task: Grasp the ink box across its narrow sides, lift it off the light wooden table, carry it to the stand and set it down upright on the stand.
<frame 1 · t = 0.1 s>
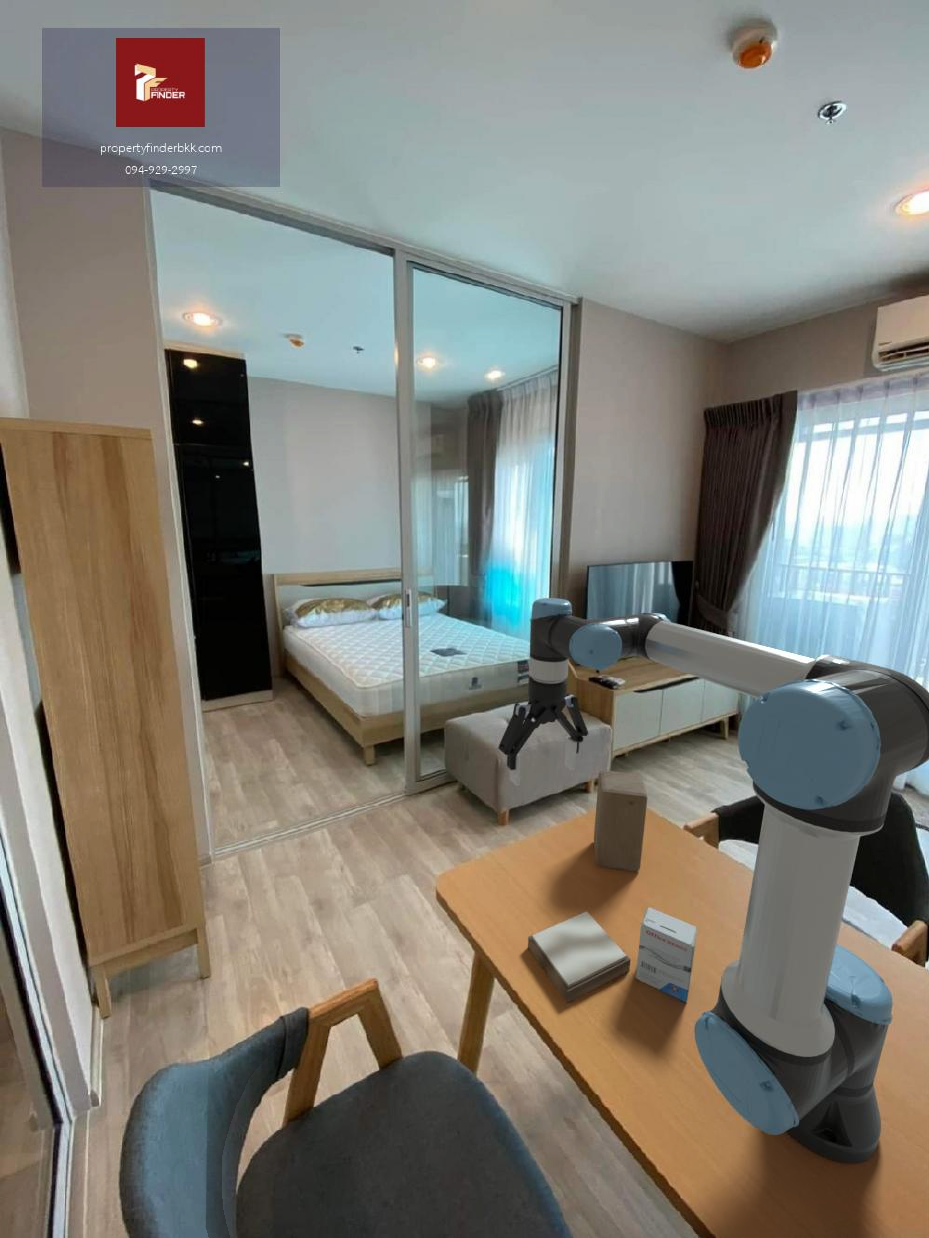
hand: (542, 775, 101), 28 cm above the table, fingers open, 13 cm apart
wooden block: (615, 857, 119), on the table
ink box: (662, 981, 88), on the table
stand: (577, 958, 92), on the table
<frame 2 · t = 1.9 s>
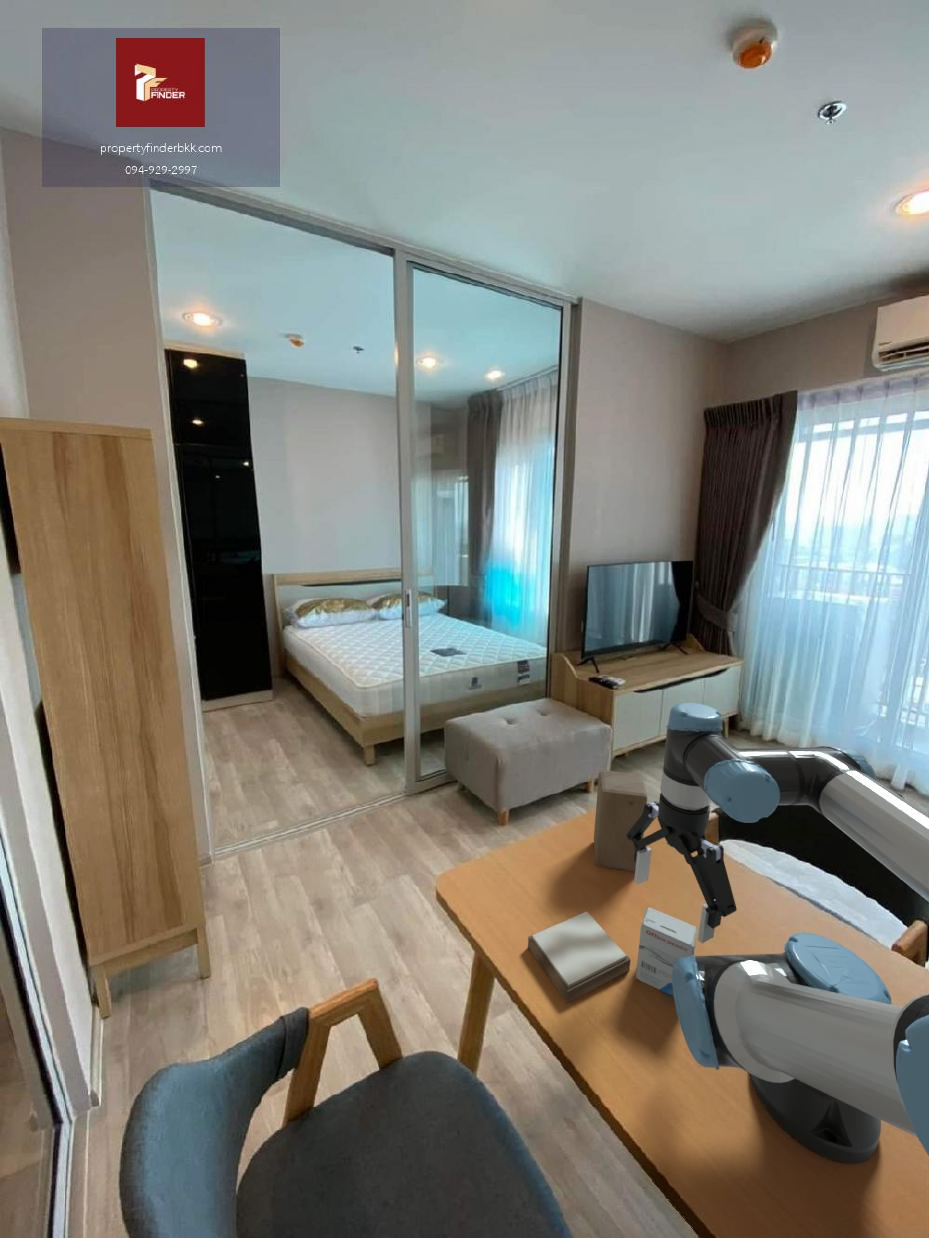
hand: (671, 908, 84), 15 cm above the table, fingers open, 13 cm apart
nothing on the table moved.
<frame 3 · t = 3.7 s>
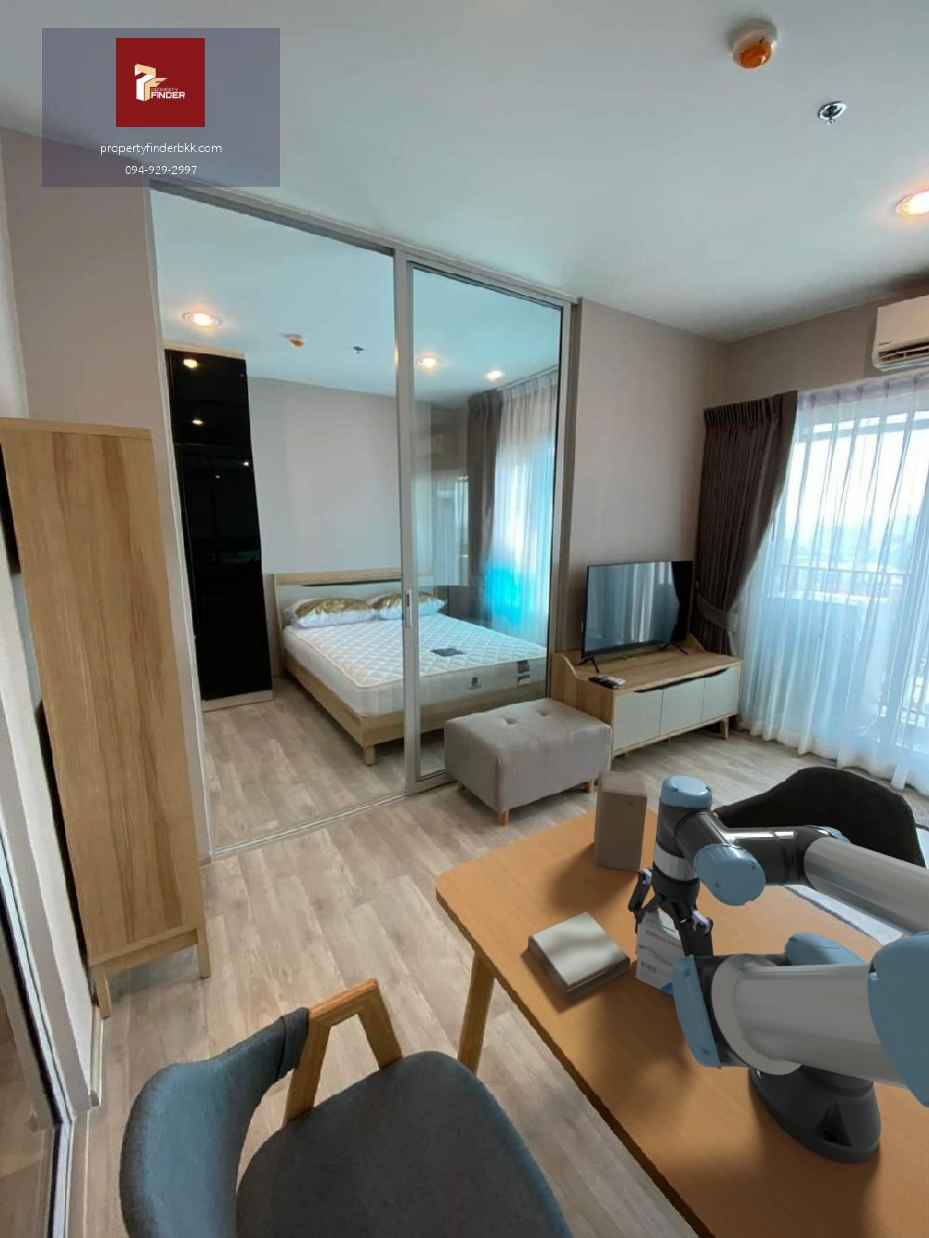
hand: (663, 974, 87), 1 cm above the table, fingers closed on ink box, 9 cm apart
ink box: (662, 980, 88), on the table, touching gripper
everything else where it was.
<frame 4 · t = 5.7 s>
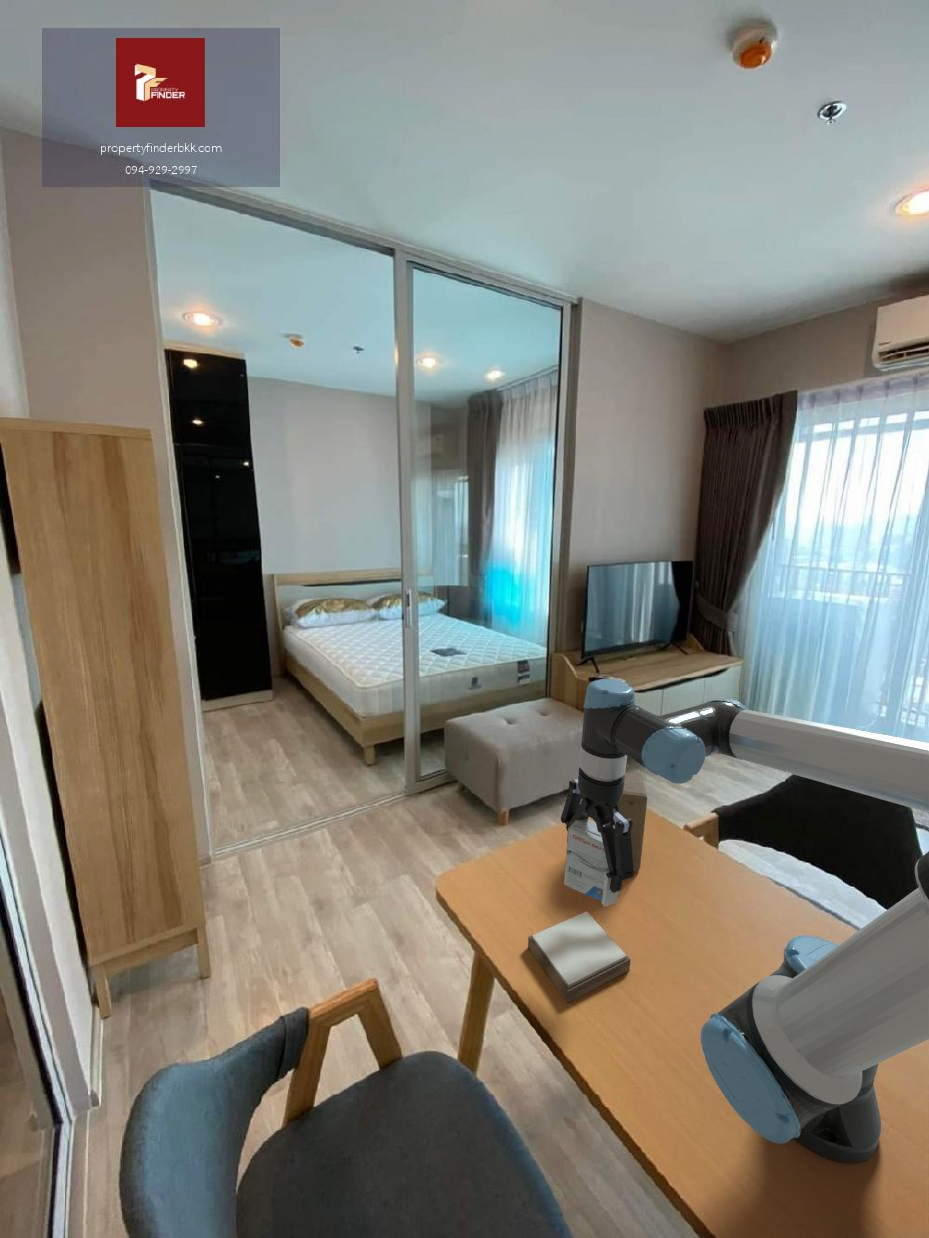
hand: (590, 881, 88), 16 cm above the table, fingers closed on ink box, 9 cm apart
ink box: (590, 887, 89), point 15 cm above the table, touching gripper
everything else where it was.
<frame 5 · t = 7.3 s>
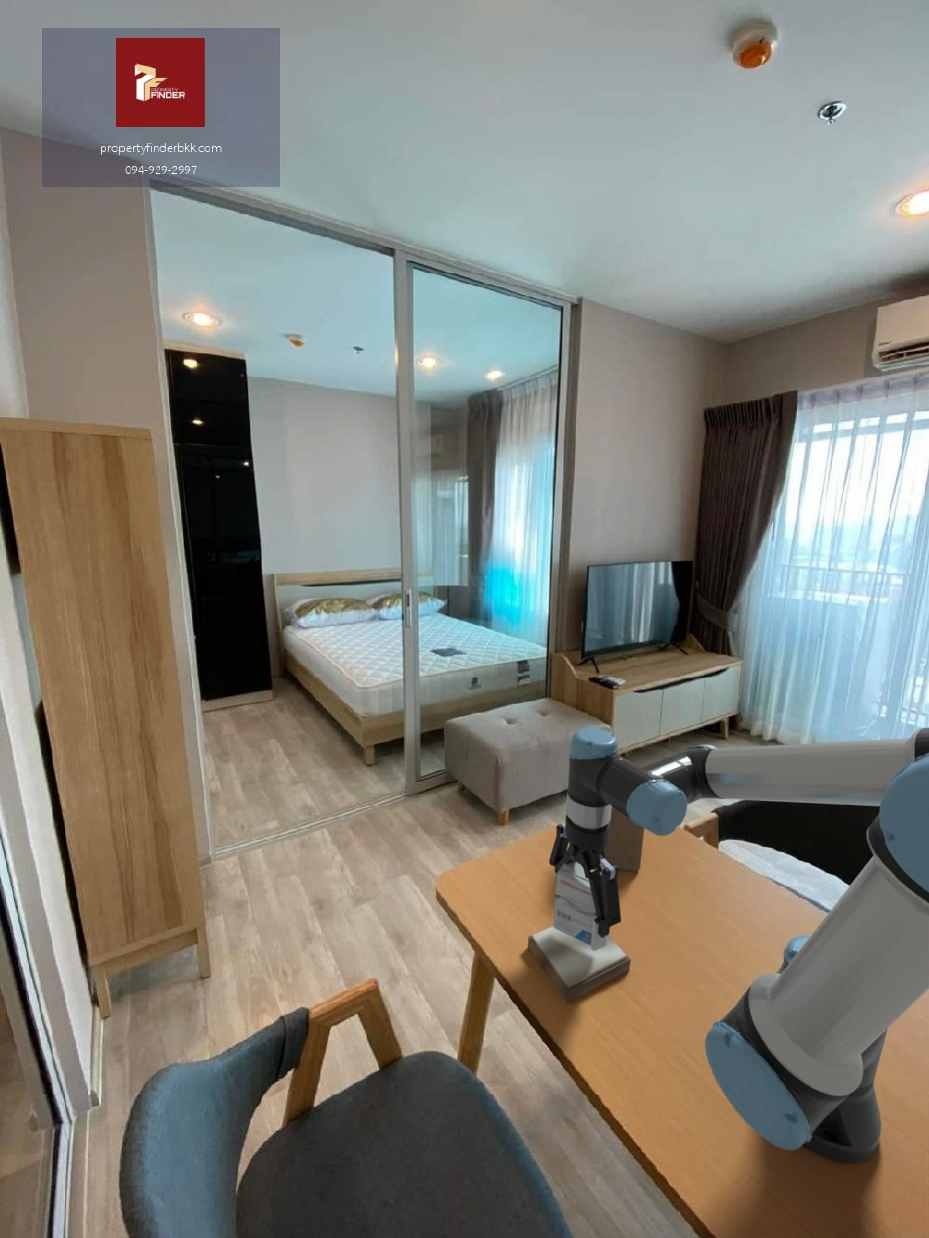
hand: (579, 924, 90), 7 cm above the table, fingers closed on ink box, 9 cm apart
ink box: (579, 930, 90), point 6 cm above the table, touching gripper
everything else where it was.
when the fingers open (6 cm above the table, at t = 8.2 s): ink box drops 1 cm, resting on stand.
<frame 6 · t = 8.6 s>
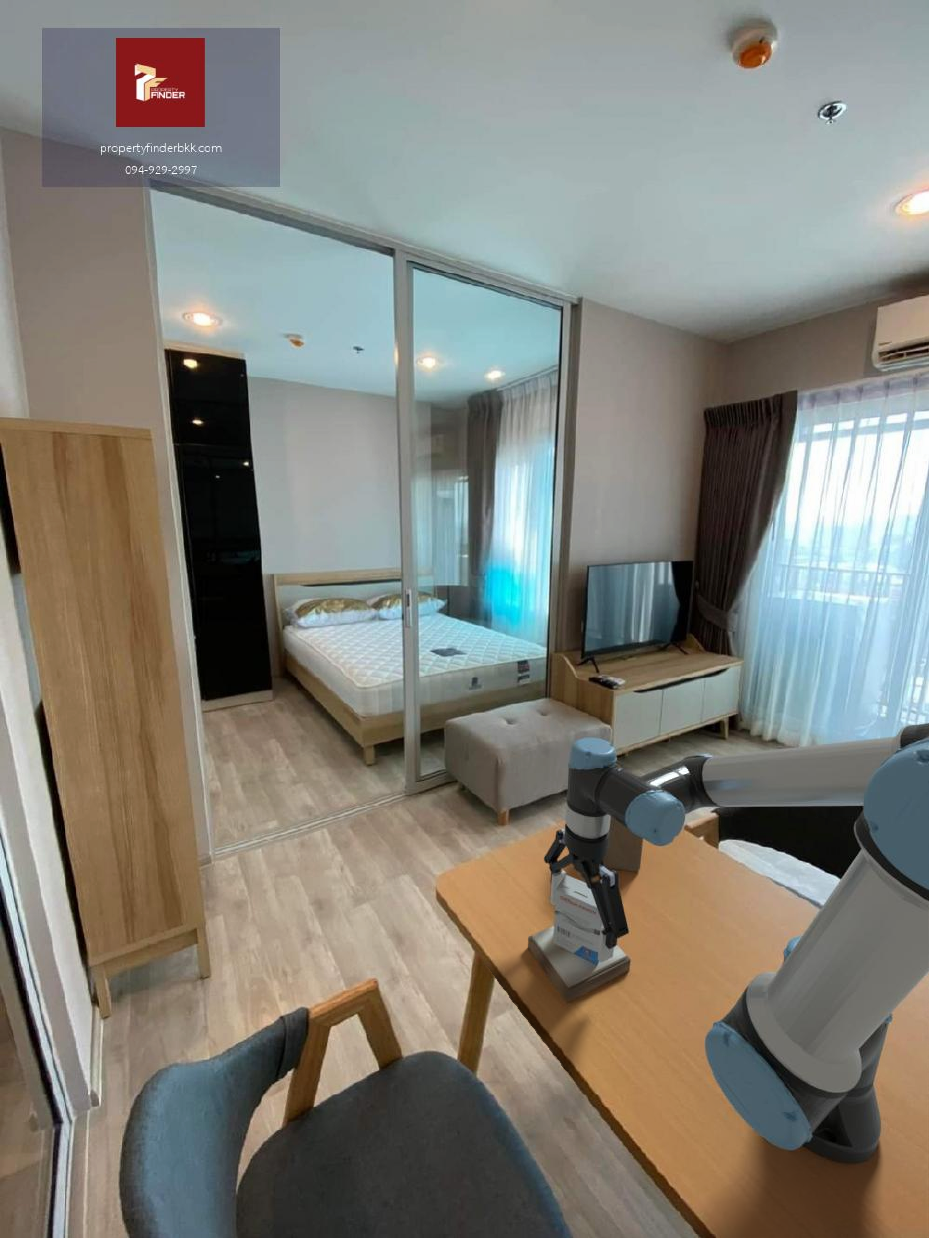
hand: (579, 928, 90), 7 cm above the table, fingers open, 13 cm apart
ink box: (578, 945, 91), point 3 cm above the table, touching stand
everything else where it was.
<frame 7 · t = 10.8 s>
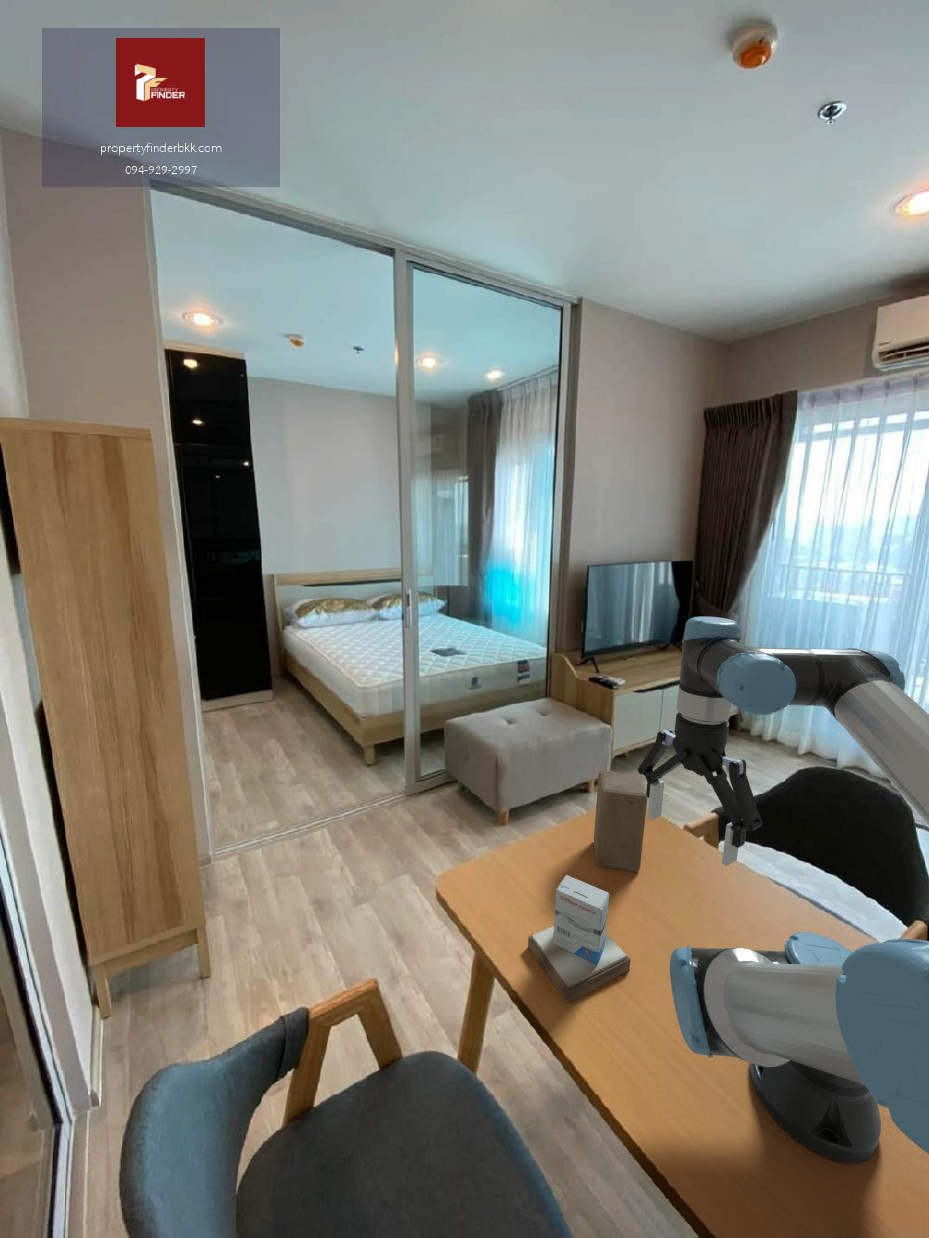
hand: (689, 837, 81), 29 cm above the table, fingers open, 13 cm apart
nothing on the table moved.
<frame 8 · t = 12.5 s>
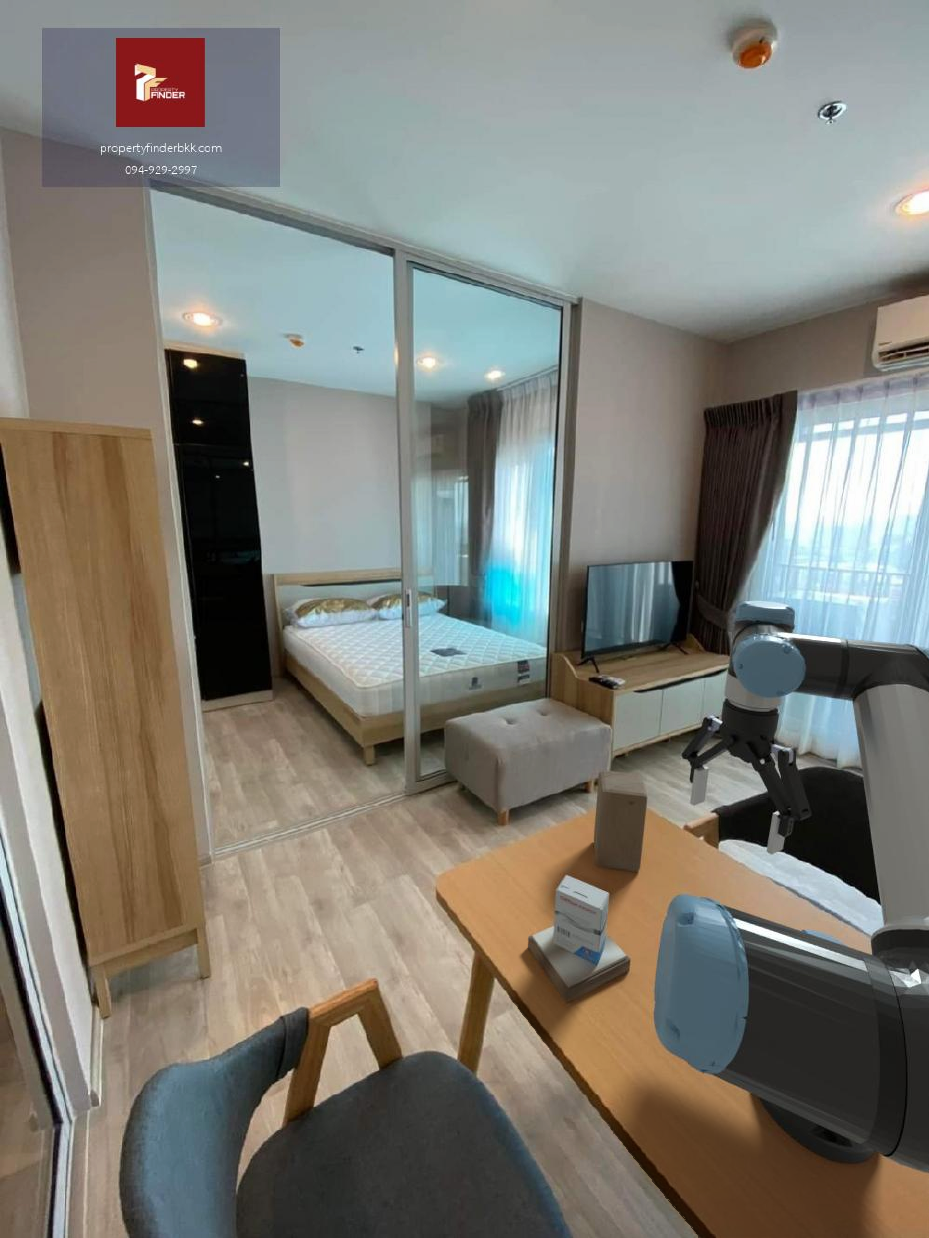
hand: (733, 824, 80), 32 cm above the table, fingers open, 13 cm apart
nothing on the table moved.
at the end: ink box inside the target area on the stand (0.1 cm from its centre), point 2.8 cm above the stand's base; ink box tilted 0°; the gripper is holding nothing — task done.
